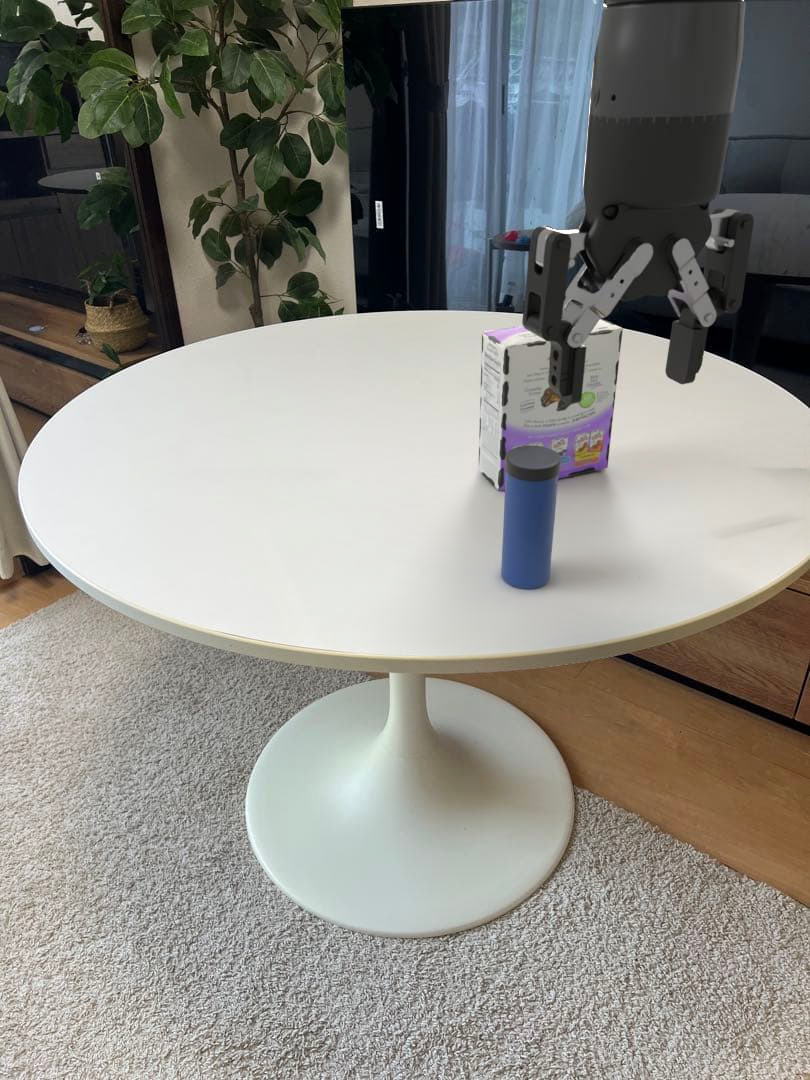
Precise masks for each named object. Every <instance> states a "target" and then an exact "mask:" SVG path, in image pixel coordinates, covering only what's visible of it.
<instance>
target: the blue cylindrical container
mask: <svg viewBox="0 0 810 1080" xmlns="http://www.w3.org/2000/svg"><path fill="white" fill-rule="evenodd" d="M560 465H561V457H560V455H559V454H558V453H557V452H556V451H554V450H552V449H549V448H546V447H542V446H521V447H516V448H514V449H511V450H510V451H508V452H507V454H506V456H505V471H506V481H505V490H504V503H503V504H504V505H503V524H502V544H501V567H500V570H501V571H500V577H501V579H502V580H503V581H504V582H505V583H506V584H508V585H509V586H511V587H513V588H517V589H522V590H534V589H538V588H541V587H543V586H545V585H546V584H547V583H548V582H549V581H550V578H551V567H552V566H551V565H552V564H551V563H552V554H553V541H554V530H555V520H556V519H555V518H556V507H557V496H558V486H559V485H558V483H559V479H558V474H559V473H560Z"/></svg>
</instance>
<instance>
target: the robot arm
mask: <svg viewBox="0 0 810 1080" xmlns="http://www.w3.org/2000/svg"><path fill="white" fill-rule="evenodd" d="M746 6H747V2H745V0H603V8H602V12H601V19H600V26H599V31H598V36H597V42H596V45H595V50H594V56H593V64H592V75H591V86H590V92H589V109H588V122H587V134H586V147H585V159H584V169H583V182H582V194H583V200H584V208H585V209H584V215H583V218H582V220H581V222H580V224H579V227H578V228H577V229H569V230H568V229H567V230H556V229H552V228H550V227H547V226H545V225H544V226H543V225H540V226H537V227H535V229H534V230H533V231H532V233H531V236H530V244H529V245H530V246H529V253H528V263H527V271H526V272H527V273H526V282H525V291H524V292H525V293H524V301H523V302H524V303H523V310H522V320H521V323H522V326H523V327H524V328H525V329H527V330H528V331H530V332H532V333H534V334H535V335H537V336H539V337H541V338H542V339H544V340H546V341H550V343H551V350H550V364H549V367H550V368H549V378H548V383H549V386H550V389H551V390H552V391H554V392H555V395H556V397H557V398H559V399H560V400H562V401H563V402H565V403H566V404H568V405H569V404H575V403H579V402H580V401H581V398H582V388H583V378H584V367H585V357H586V347H585V346H583V345H582V344H583V343H584V341H585V340H586V338H587V337H588V336H589V334H590V333H591V331H592V330H593V328H594V327H595V325H596V324H597V323H598V321H599V320H600V319H604V318H606V317H608V316H609V315H610V314H611V313H612V311H613V310H614V308H615V307H616V306H617V305H618V303H619V301H622V302H624V303H625V302H631V301H636V300H639V299H641V298H643V297H645V296H651V297H655V298H656V297H657V298H660V297H667V298H668V300H669V302H670V304H671V306H672V307H673V309H674V312H675V313H676V315H677V316H678V317H679V319H677V320H673V321H672V324H671V331H670V338H669V345H668V350H667V359H666V363H665V375H666V377H667V378H668V379H670V380H672V381H674V382H675V383H678V384H679V385H688V384H692V383H694V381H696V375H697V374H698V373H699V372H700V370H701V367H702V366H703V361H704V354H705V350H706V343H707V337H708V332H709V328H710V327H711V326H712V325H713V324H714V323H715V321H717V318H719V317H720V316H722V315H724V314H726V313H727V314H731V315H732V314H735V313H737V312H738V311H739V310H740V308H741V306H742V304H743V303H742V302H743V297H744V289H745V282H746V278H747V277H746V276H747V271H748V263H749V258H750V257H749V255H750V251H751V244H752V243H751V242H752V235H753V230H754V219H755V218H754V216H753V214H751V213H749V212H743V211H741V210H738V209H737V210H736V209H732V208H725V207H718V208H715V209H714V210H713V212H712V213H711V214H710V202H713V201H714V200H715V199H716V198H717V197H718V195H719V193H720V190H721V185H722V179H723V174H724V168H725V161H726V156H727V149H728V143H729V137H730V133H731V132H730V131H731V127H732V126H731V125H732V120H733V114H734V109H735V102H736V97H737V90H738V84H739V78H740V73H741V67H742V60H743V59H742V58H743V53H744V52H743V50H744V32H745V31H744V30H745V29H744V28H745V14H746ZM705 246H706V251H705V259H704V267H703V268H704V269H703V272H702V270H701V267H700V265H699V263H698V261H697V259H696V258H697V257H698V256H699V254H700V253H701V251H702V250H703V248H704V247H705ZM578 254H579V256H580V258H581V260H582V262H583V264H582V266H581V267H580V268H579V270H578V272H576V274H575V276H574V278H573V279H572V280H571V282H570V283H569V284H568V286H567V280H568V271H570V269H571V268H573V267H575V265H576V260H575V259H576V256H577V255H578ZM595 285H596V286H597V288H598V289H599V290H598V291H596V292H594V293H592V290H593V288H594V287H595ZM566 287H567V288H566Z"/></svg>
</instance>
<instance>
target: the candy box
mask: <svg viewBox="0 0 810 1080" xmlns="http://www.w3.org/2000/svg"><path fill="white" fill-rule="evenodd" d="M623 330H624V329H623V327H622V326H619V325H616V324H615V323H612V322H611V321H608V320H605V319H604V318H601V319H600V320H599V321H598V323H597V324H596V325H595V327H594V328H593V330H592V331H591V333H590V334H589V336H588V337H587V338H586V340H585V341H584V343H583V344H582V345H583V346H585V347H586V357H585V367H584V378H583V388H582V398H581V401H580V402H579V403H575V404H569V405H568V404H566V403H565V402H563V401H562V400H560V399H559V398H557V397H556V395H555V392H554V391H552V390H551V389H550V386H549V383H548V378H549V368H550V367H549V364H550V350H551V343H550V341H546V340H544V339H542V338H541V337H539V336H537V335H535V334H534V333H532V332H530V331H528V330H527V329H525V328H524V327H523V325H519V326H513V327H506V328H500V329H492V330H485V331H482V332H481V360H480V361H481V363H480V398H479V399H480V401H479V406H480V407H479V433H478V434H479V435H478V436H479V439H478V466H477V467H478V471H479V472H480V473H481V474H482V475H483V477H485V479H486V480H487V481H488V482H489V483H490V484H491V485H492V487H494V488H495V490H497V491H501V492H503V491H505V481H506V471H505V456H506V454H507V452H508V451H510V450H511V449H514V448H516V447H521V446H542V447H546V448H549V449H552V450H554V451H556V452H557V453H558V454H559V455H560V457H561V465H560V473H559V474H558V480H559V479H563V478H567V477H572V476H579V475H581V474H587V473H591V472H596V471H600V470H605V469H607V468H608V467H609V458H610V447H611V446H610V445H611V439H612V429H613V420H614V410H615V402H616V401H615V400H616V392H617V384H618V383H617V382H618V375H619V364H620V357H621V347H622V339H623Z"/></svg>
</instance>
